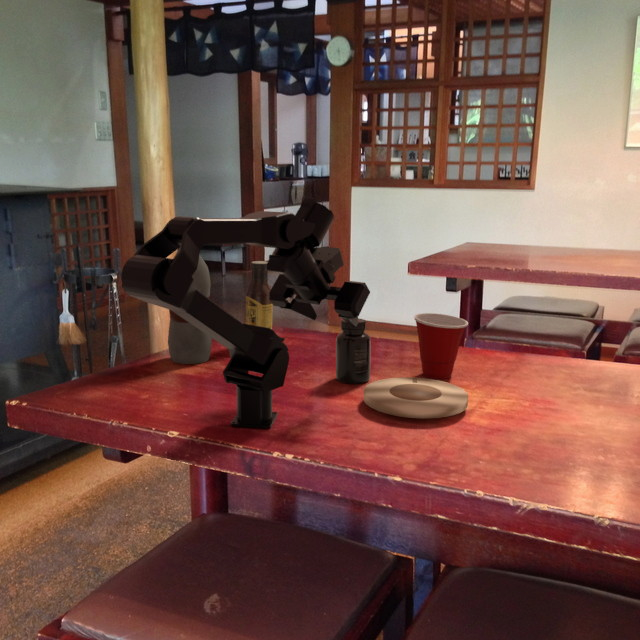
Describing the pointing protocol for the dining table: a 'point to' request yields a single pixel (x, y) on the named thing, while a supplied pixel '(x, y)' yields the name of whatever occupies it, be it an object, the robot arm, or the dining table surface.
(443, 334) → the plastic cup
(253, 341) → the robot arm
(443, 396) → the disc
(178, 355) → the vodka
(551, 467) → the dining table surface
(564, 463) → the dining table surface
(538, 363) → the dining table surface
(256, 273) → the sauce bottle
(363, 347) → the supplement bottle
